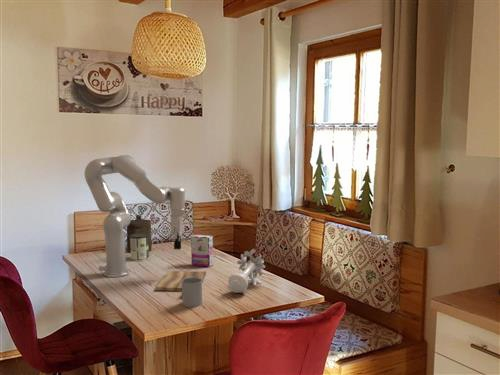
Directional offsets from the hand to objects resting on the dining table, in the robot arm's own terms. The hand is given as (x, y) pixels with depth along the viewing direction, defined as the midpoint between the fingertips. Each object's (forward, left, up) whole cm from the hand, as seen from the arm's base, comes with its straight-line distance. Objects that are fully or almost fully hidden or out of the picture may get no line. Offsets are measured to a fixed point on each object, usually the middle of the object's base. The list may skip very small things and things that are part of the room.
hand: (177, 248), depth 260 cm
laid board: (+9, -10, -14) cm, 19 cm away
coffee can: (-29, +36, -15) cm, 48 cm away
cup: (+13, -41, -15) cm, 46 cm away
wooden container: (-34, +58, -15) cm, 69 cm away
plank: (-1, -10, -14) cm, 17 cm away
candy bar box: (+9, +22, -15) cm, 28 cm away
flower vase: (+35, -18, -14) cm, 42 cm away
